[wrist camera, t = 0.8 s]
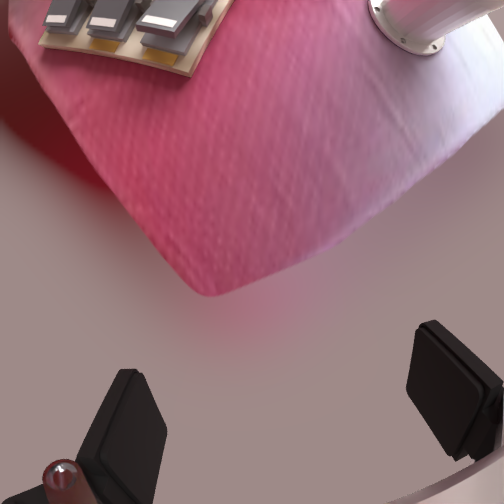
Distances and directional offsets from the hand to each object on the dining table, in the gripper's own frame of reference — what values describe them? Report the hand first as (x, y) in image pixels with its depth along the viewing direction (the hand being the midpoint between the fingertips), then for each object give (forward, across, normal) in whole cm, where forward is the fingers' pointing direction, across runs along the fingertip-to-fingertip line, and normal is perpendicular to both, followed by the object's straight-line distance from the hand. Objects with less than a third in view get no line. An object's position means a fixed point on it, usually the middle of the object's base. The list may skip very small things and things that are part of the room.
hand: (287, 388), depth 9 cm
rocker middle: (+21, +11, -31) cm, 39 cm away
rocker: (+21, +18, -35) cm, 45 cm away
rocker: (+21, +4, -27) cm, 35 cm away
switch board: (+27, +11, -31) cm, 42 cm away
